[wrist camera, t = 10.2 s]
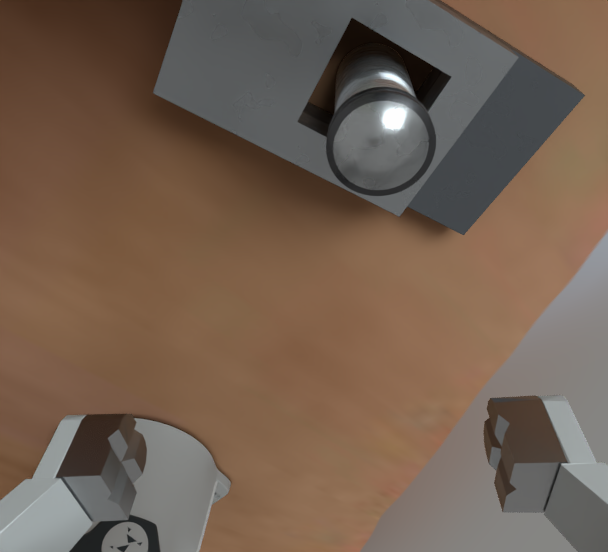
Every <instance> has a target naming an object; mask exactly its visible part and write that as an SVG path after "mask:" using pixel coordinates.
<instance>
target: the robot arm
mask: <svg viewBox="0 0 608 552" xmlns="http://www.w3.org/2000/svg"><path fill="white" fill-rule="evenodd" d="M487 411H488V414H489V417H490V418H489V419H487V420H486V421H485V424H484V445H485V450H486V455H487V459H488V462H489V464H490V465H491V466H492V467H493V468H494V469H495V470H496V477H495V482H494V484H495V487H496V490H497V494H498V498H499V501H500V504H501V508H502V511H503V512H545V513H544V515H545V516H546V517H547V518H548V519H549V521H550V522H551V523H552V524H553V525H554V526H555V527H556V528H557V529H558V530H559V532H560V533H561V534H562V535H563V536H564V537H565V538H566V539H567V540H568V541H569V542H570V544H571V545H572V546H573V547H574V548H575V549H576V550H577V551H578V552H608V465H607V464H606V463H604V462H602V463H601V462H596V460H595V457H594V455H593V453H592V451H591V449H590V447H589V445H588V443H587V441H586V439H585V436H584V435H583V433H582V430H581V428H580V426H579V424H578V422H577V420H576V418H575V416H574V414H573V411H572V409H571V407H570V405H569V403H568V401H567V399H566V398H565V397H564V396H563V395H552V396H520V397H502V398H490V400H489V401H488V406H487ZM230 486H231V482H230V481H229V479H228V478H227V477H226V476H225V475H223V474H222V473H221V472H220V471H219V470H218V469H217V467H216V465H215V463H214V460H213V458H212V456H211V454H210V453H209V451H208V450H207V449H206V448H205V447H204V446H203V445H202V444H201V443H200V442H199V441H197V440H196V439H195V438H193V437H192V436H190V435H188V434H187V433H185V432H183V431H181V430H179V429H177V428H174V427H172V426H169V425H166V424H163V423H159V422H156V421H151V420H146V419H139V418H134V417H133V415H132V414H93V415H89V414H88V415H67V416H66V417H65V418H64V419H62V420H61V422H60V424H59V426H58V428H57V430H56V431H55V433H54V435H53V437H52V439H51V441H50V443H49V445H48V447H47V449H46V451H45V453H44V455H43V457H42V459H41V461H40V463H39V465H38V467H37V469H36V471H35V473H34V475H33V477H32V479H25V480H24V481H23V482H22V483H21V484H19V485H18V486H17V487H16V488H15V489H13V490H12V491H11V492H10V493H9V494H8V495H6V496H5V497H4V498H3V499H2V500H0V552H199V551H200V547H201V543H202V540H203V536H204V532H205V528H206V525H207V521H208V517H209V513H210V509H211V506H212V504H214V503H215V502H217V501H218V500H220V499H221V498H222V497H224V496H225V495H227V494H228V492H229V489H230Z"/></svg>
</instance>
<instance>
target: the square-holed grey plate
mask: <svg viewBox="0 0 608 552" xmlns="http://www.w3.org/2000/svg"><path fill="white" fill-rule="evenodd" d="M351 18H354V19H355V20H357V21H359V22H360V23H362V24H364V25H365V26H367V27H369V28H370V29H372V30H374V31H375V32H377V33H379V34H380V35H382V36H384V37H386V38H387V39H389V40H391V41H392V42H394V43H396V44H397V45H399V46H401V47H402V48H404V49H406V50H407V51H409V52H411V53H412V54H414V55H416V56H417V57H419V58H421V59H422V60H424V61H426V62H428V63H429V64H431V65H433V66H434V67H433V69H432V70H431V72H430V74H429V75H428V77H427V78H426V80H425V81H424V83H423V84H422V86H421V87H420V89H419V90H418V92H417V93H416V95H415V96H416V98H417V99H418V100H419V101H420V102H421V103H422V104H423V105H424V107H425V108H426V109H427V111H428V113H429V115H430V118H431V120H432V123H433V126H434V129H435V134H436V149H435V154H434V157H433V160H432V162H431V164H430V166H429V168H428V169H427V171H426V172H425V174H424V175H423V176H422V177H421V178H420V179H419V180H418V181H417V182H416V183H414V184H413V185H412V186H410V187H409V188H407V189H405V190H403V191H401V192H398V193H395V194H391V195H386V196H369V195H364V194H360V193H357V192H355V191H353V190H351V189H349V188H348V187H346V186H345V185H344V184H342V183H341V182H340V181H339V180H338V179H337V178H336V176H335V175H334V173H333V172H332V170H331V168H330V166H329V163H328V159H327V155H326V141H327V131H328V127H329V124H330V121H331V119H332V117H333V115H331V114H330V113H328V112H326V111H324V110H322V109H320V108H318V107H316V106H315V105H313V104H311V103H309V102H308V100H309V98H310V96H311V95H312V93H313V91H314V89H315V87H316V85H317V83H318V81H319V79H320V77H321V75H322V74H323V72H324V70H325V68H326V66H327V64H328V62H329V60H330V58H331V56H332V54H333V53H334V51H335V49H336V47H337V45H338V43H339V41H340V39H341V37H342V35H343V33H344V32H345V30H346V28H347V26H348V24H349V22H350V20H351ZM153 93H154V94H156V95H158V96H160V97H162V98H164V99H166V100H168V101H170V102H172V103H174V104H176V105H178V106H180V107H182V108H184V109H186V110H188V111H190V112H192V113H194V114H196V115H198V116H200V117H202V118H204V119H206V120H208V121H210V122H212V123H214V124H216V125H218V126H220V127H222V128H224V129H226V130H228V131H230V132H232V133H234V134H236V135H238V136H240V137H242V138H244V139H245V140H247V141H249V142H251V143H253V144H255V145H257V146H259V147H261V148H263V149H265V150H267V151H269V152H271V153H273V154H275V155H277V156H279V157H281V158H283V159H285V160H287V161H289V162H291V163H293V164H295V165H297V166H299V167H301V168H303V169H305V170H307V171H309V172H311V173H313V174H315V175H317V176H319V177H321V178H323V179H325V180H327V181H329V182H331V183H333V184H335V185H337V186H339V187H341V188H343V189H345V190H347V191H349V192H351V193H353V194H355V195H357V196H359V197H361V198H363V199H365V200H367V201H369V202H371V203H373V204H375V205H377V206H379V207H381V208H383V209H385V210H387V211H389V212H391V213H393V214H395V215H397V216H399V217H400V215H401V214H402V213H403V211H404V210H405V209H406V207H409V208H411V209H413V210H415V211H417V212H419V213H421V214H423V215H425V216H427V217H429V218H431V219H433V220H435V221H437V222H439V223H441V224H443V225H444V226H446V227H448V228H450V229H452V230H454V231H456V232H458V233H460V234H462V235H464V234H465V233H466V232H467V231H468V229H469V228H470V227H471V226H472V225H473V224H474V223H475V221H476V220H477V219H478V218H479V217H480V216H481V214H482V213H483V212H484V211H485V210H486V209H487V208H488V206H489V205H490V204H491V203H492V202H493V201H494V200H495V198H496V197H497V196H498V195H499V194H500V193H501V191H502V190H503V189H504V188H505V187H506V186H507V185H508V183H509V182H510V181H511V180H512V179H513V178H514V176H515V175H516V174H517V173H518V172H519V171H520V170H521V168H522V167H523V166H524V165H525V164H526V163H527V162H528V160H529V159H530V158H531V157H532V156H533V155H534V153H535V152H536V151H537V150H538V149H539V148H540V147H541V145H542V144H543V143H544V142H545V141H546V140H547V138H548V137H549V136H550V135H551V134H552V133H553V132H554V130H555V129H556V128H557V127H558V126H559V125H560V124H561V122H562V121H563V120H564V119H565V118H566V117H567V115H568V114H569V113H570V112H571V111H572V110H573V109H574V107H575V106H576V105H577V104H578V103H579V102H580V100H581V99H582V98H583V97H584V96H585V95H584V94H583V93H582V92H581V91H579V90H578V89H577V88H576V87H575V86H574V85H573V84H571V83H570V82H568V81H566V80H565V79H563V78H562V77H560V76H559V75H557V74H555V73H554V72H552V71H551V70H549V69H548V68H546V67H544V66H543V65H541V64H540V63H538V62H537V61H535V60H533V59H532V58H530V57H529V56H527V55H525V54H524V53H522V52H521V51H519V50H518V49H516V48H514V47H513V46H511V45H510V44H508V43H507V42H505V41H503V40H502V39H500V38H499V37H497V36H496V35H494V34H492V33H491V32H489V31H488V30H486V29H485V28H483V27H481V26H480V25H478V24H477V23H475V22H473V21H472V20H470V19H469V18H467V17H466V16H464V15H462V14H461V13H459V12H458V11H456V10H455V9H453V8H451V7H450V6H448V5H447V4H445V3H444V2H442V1H440V0H183V2H182V5H181V8H180V11H179V14H178V17H177V20H176V23H175V27H174V30H173V33H172V36H171V39H170V42H169V45H168V48H167V51H166V54H165V57H164V60H163V64H162V67H161V70H160V73H159V76H158V79H157V82H156V85H155V88H154V91H153Z"/></svg>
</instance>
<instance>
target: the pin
mask: <svg viewBox="0 0 608 552" xmlns="http://www.w3.org/2000/svg"><path fill="white" fill-rule="evenodd" d="M435 149H436V134H435V129H434V126H433V123H432V120H431V118H430V115H429V113H428V111H427V109H426V108H425V107H424V105H423V104H422V103H421V102H420V101H419V100H418V99H417V98H416V96H415V93H414V89H413V86H412V83H411V80H410V77H409V74H408V71H407V68H406V65H405V63H404V61H403V59H402V57H401V56H400V55H399V54H398V53H397V52H396V51H395V50H394V49H392V48H391V47H389V46H387V45H384V44H380V43H368V44H364V45H361V46H358V47H356V48H355V49H353V50H352V51H350V52H349V53H348V54H347V55H346V56H345V57H344V59H343V60H342V62H341V63H340V65H339V68H338V70H337V74H336V86H335V112H334V115H333V117H332V119H331V121H330V124H329V127H328V131H327V141H326V155H327V159H328V163H329V166H330V168H331V170H332V172H333V173H334V175H335V176H336V178H337V179H338V180H339V181H340V182H341V183H342V184H344V185H345V186H346V187H348V188H349V189H351V190H353V191H355V192H357V193H360V194H364V195H369V196H386V195H391V194H395V193H398V192H401V191H403V190H405V189H407V188H409V187H410V186H412V185H413V184H414V183H416V182H417V181H418V180H419V179H420V178H421V177H422V176H423V175H424V174H425V172H426V171H427V169H428V168H429V166H430V164H431V162H432V160H433V157H434V154H435Z"/></svg>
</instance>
